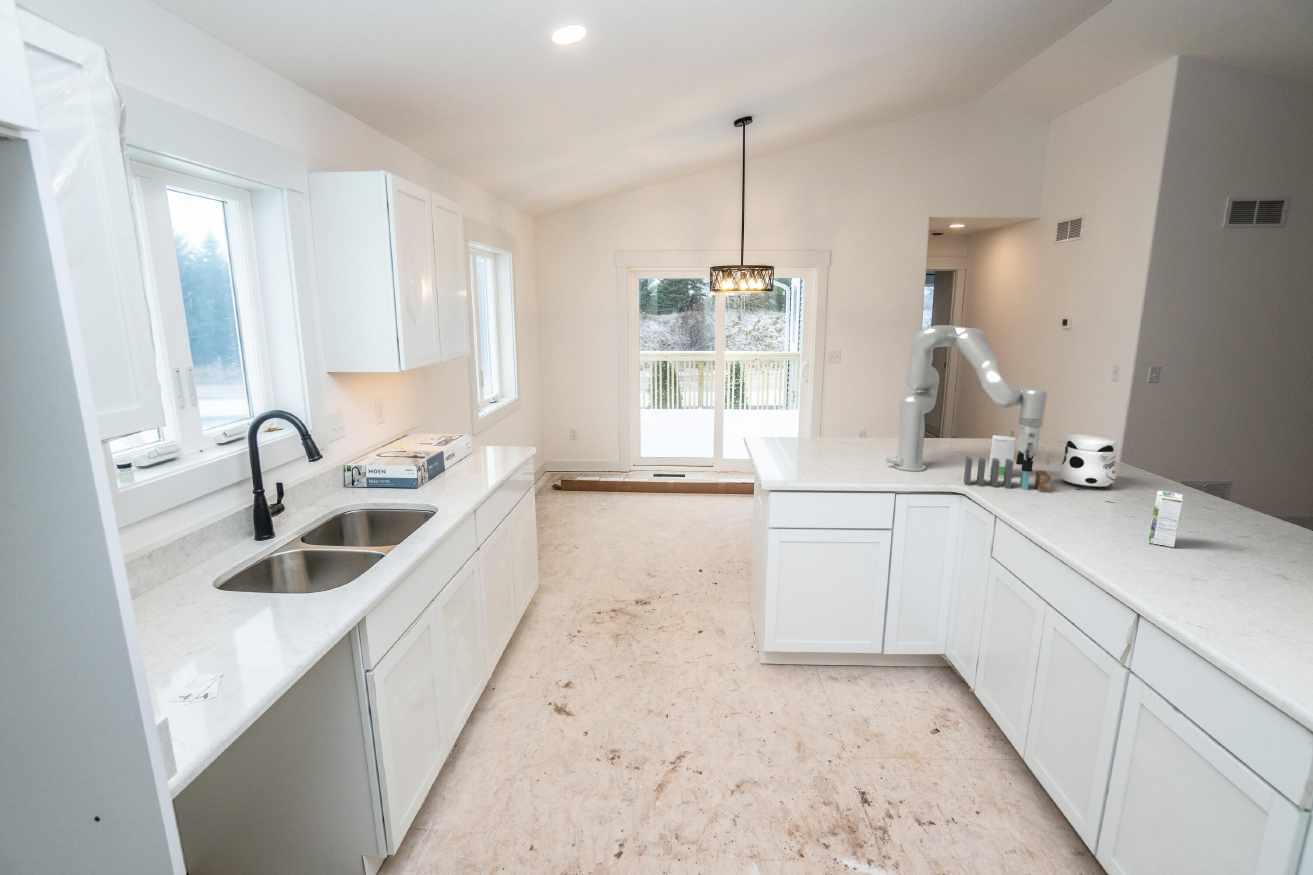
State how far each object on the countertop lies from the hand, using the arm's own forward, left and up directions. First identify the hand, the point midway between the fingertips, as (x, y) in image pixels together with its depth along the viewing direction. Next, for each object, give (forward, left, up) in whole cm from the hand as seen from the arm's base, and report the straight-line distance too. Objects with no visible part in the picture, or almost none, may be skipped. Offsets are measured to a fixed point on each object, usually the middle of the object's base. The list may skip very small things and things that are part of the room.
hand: (1023, 467), depth 226 cm
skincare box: (+2, +18, -8) cm, 19 cm away
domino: (+1, -1, -8) cm, 8 cm away
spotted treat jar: (+26, +3, -8) cm, 27 cm away
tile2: (-13, +4, -8) cm, 16 cm away
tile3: (-9, +3, -8) cm, 12 cm away
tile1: (-17, +6, -8) cm, 20 cm away
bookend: (+6, -3, -8) cm, 10 cm away
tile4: (-5, +1, -8) cm, 9 cm away
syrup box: (+7, -56, -8) cm, 57 cm away
